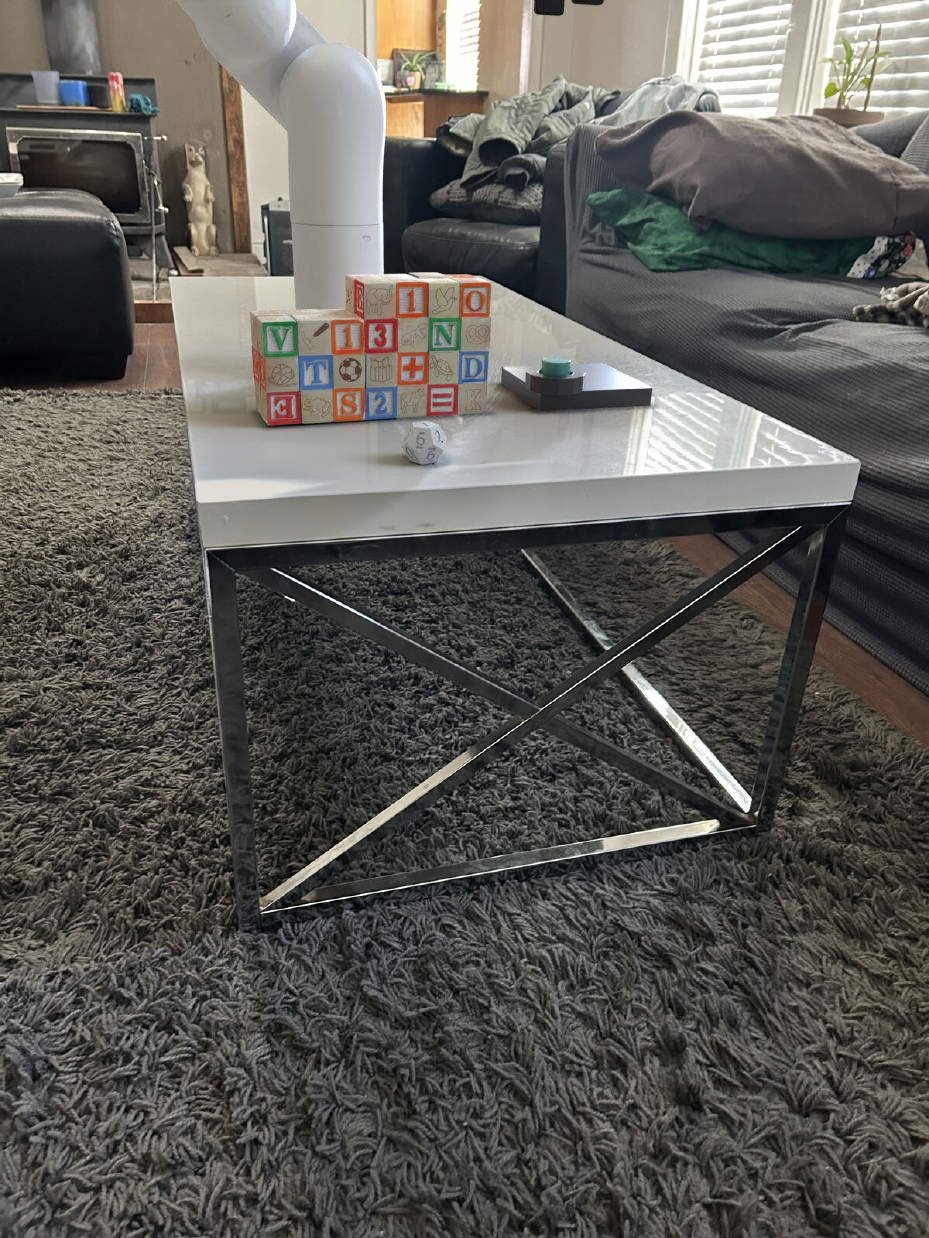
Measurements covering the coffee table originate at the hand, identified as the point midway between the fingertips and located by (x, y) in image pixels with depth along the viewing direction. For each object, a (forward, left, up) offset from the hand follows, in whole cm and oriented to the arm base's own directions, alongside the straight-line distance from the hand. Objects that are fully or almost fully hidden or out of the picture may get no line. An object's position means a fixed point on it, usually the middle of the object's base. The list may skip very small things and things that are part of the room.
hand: (567, 10), depth 96 cm
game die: (-23, -32, -36) cm, 53 cm away
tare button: (-6, -18, -32) cm, 37 cm away
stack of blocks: (-24, -16, -36) cm, 46 cm away
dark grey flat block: (-2, -13, -36) cm, 38 cm away
